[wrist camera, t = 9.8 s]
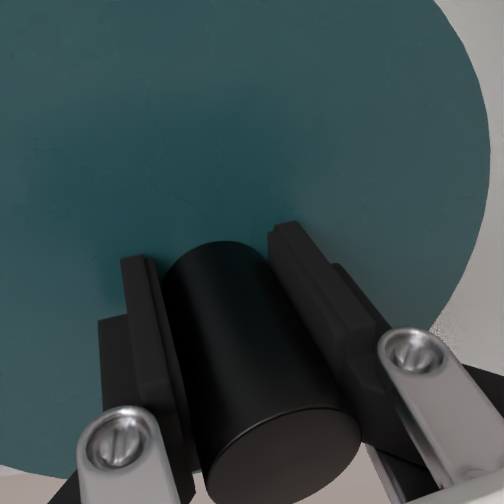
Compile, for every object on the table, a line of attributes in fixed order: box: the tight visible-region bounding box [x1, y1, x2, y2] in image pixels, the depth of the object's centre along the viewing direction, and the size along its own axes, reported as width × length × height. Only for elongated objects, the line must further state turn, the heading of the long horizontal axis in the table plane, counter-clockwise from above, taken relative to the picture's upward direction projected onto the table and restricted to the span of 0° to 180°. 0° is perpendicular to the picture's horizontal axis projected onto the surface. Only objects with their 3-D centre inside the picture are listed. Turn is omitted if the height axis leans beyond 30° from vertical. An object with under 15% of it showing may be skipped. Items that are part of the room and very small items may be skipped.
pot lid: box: [0, 0, 491, 504], centre depth 10 cm, size 16×16×6 cm
